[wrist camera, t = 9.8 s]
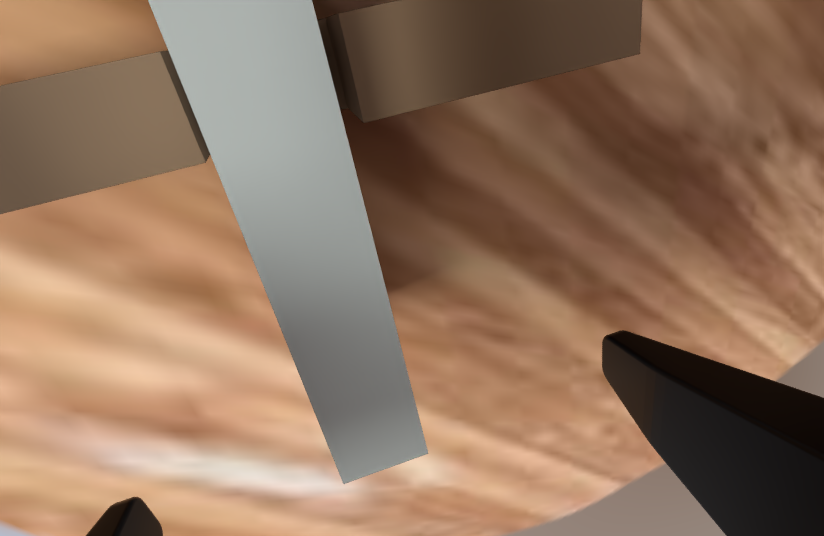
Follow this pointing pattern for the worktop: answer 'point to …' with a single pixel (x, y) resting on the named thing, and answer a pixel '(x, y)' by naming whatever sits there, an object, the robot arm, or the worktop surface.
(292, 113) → the slotted top plate
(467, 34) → the slotted base plate
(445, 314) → the worktop surface
